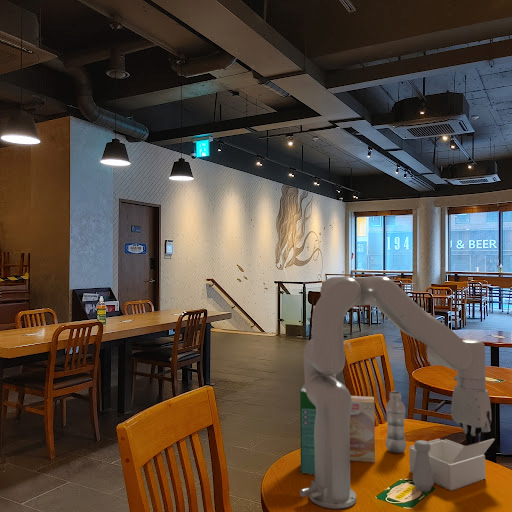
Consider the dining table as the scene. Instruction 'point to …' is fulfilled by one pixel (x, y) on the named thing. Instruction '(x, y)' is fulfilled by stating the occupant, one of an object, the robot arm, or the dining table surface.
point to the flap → (473, 450)
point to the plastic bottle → (395, 423)
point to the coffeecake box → (362, 429)
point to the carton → (451, 465)
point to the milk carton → (307, 433)
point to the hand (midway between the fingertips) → (472, 448)
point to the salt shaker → (422, 467)
